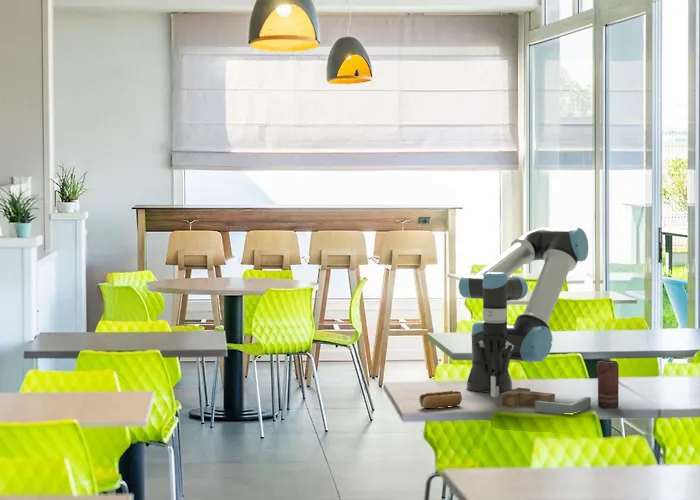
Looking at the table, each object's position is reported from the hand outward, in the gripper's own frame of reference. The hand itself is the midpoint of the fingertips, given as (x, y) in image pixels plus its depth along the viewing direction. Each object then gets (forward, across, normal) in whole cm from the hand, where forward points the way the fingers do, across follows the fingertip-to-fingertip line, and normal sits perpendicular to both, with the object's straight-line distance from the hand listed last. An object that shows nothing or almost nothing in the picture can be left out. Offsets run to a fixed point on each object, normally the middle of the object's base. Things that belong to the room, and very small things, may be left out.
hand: (494, 396), depth 336 cm
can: (+2, +33, +10) cm, 35 cm away
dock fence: (+2, +23, -1) cm, 23 cm away
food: (+2, -10, -17) cm, 20 cm away
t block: (+2, +12, 0) cm, 12 cm away
